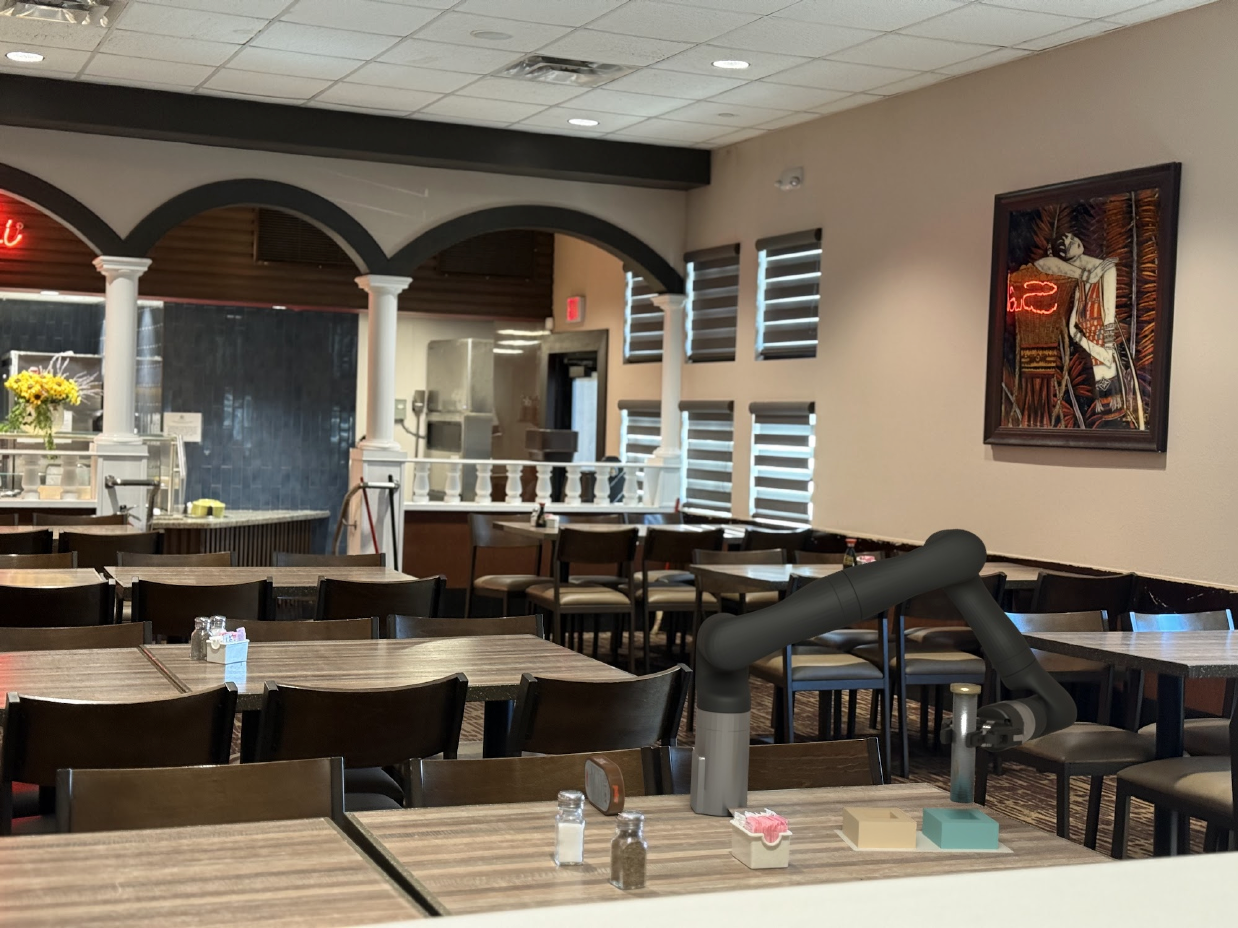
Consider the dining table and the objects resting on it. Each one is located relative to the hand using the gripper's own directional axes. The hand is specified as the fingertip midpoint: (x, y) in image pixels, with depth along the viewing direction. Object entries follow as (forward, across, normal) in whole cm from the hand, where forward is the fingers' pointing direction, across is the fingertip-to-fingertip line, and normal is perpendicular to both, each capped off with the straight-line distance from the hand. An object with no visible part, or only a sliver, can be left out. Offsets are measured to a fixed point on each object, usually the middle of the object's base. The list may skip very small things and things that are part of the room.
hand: (955, 738), depth 223 cm
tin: (+19, -54, +18) cm, 60 cm away
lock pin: (-3, 0, +10) cm, 10 cm away
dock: (+2, -4, +18) cm, 18 cm away
